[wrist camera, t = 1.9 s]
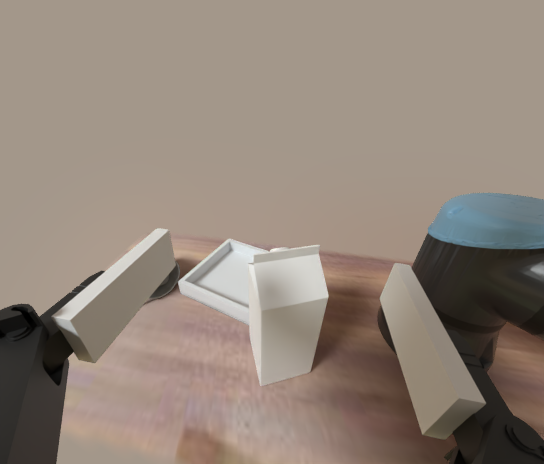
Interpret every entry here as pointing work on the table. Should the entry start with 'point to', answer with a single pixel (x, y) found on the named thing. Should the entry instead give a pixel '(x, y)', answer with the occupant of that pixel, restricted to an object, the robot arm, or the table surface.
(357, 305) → the table surface
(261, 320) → the milk carton
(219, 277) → the tray
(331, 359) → the table surface
